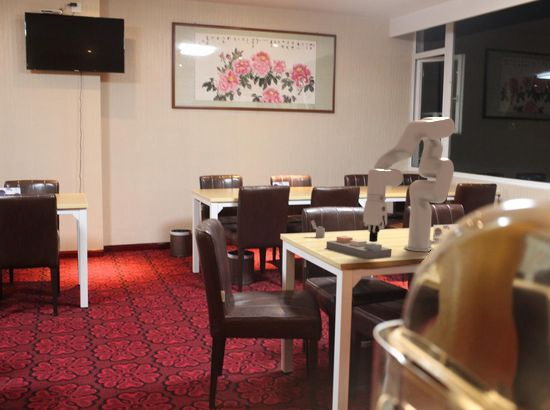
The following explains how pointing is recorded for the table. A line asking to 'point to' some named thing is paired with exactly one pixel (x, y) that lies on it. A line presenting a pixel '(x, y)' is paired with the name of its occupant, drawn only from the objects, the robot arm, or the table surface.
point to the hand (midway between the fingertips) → (373, 241)
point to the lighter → (318, 230)
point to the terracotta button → (344, 239)
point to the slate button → (373, 246)
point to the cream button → (358, 242)
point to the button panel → (358, 250)
